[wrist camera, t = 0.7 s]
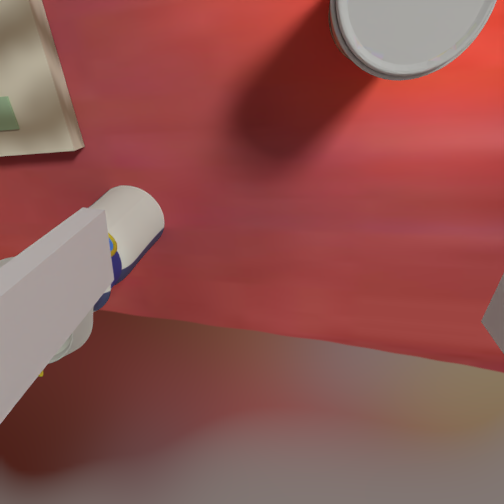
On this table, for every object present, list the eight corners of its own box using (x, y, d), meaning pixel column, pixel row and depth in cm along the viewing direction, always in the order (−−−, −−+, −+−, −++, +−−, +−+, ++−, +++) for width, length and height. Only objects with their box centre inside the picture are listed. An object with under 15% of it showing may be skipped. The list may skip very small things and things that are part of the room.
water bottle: (113, 164, 39) (-116, 298, 17) (180, 212, 41) (50, 388, 19) (82, 219, 43) (-142, 390, 21) (144, 261, 45) (0, 458, 22)
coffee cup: (302, -22, 30) (308, -65, 20) (420, -85, 28) (498, -174, 17) (337, 91, 34) (358, 106, 23) (444, 44, 31) (521, 37, 21)
